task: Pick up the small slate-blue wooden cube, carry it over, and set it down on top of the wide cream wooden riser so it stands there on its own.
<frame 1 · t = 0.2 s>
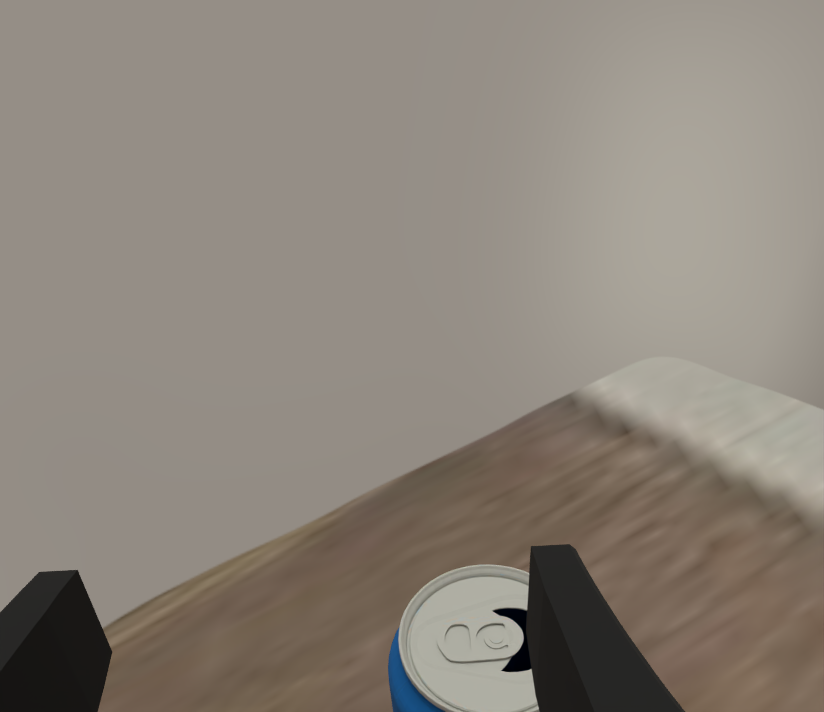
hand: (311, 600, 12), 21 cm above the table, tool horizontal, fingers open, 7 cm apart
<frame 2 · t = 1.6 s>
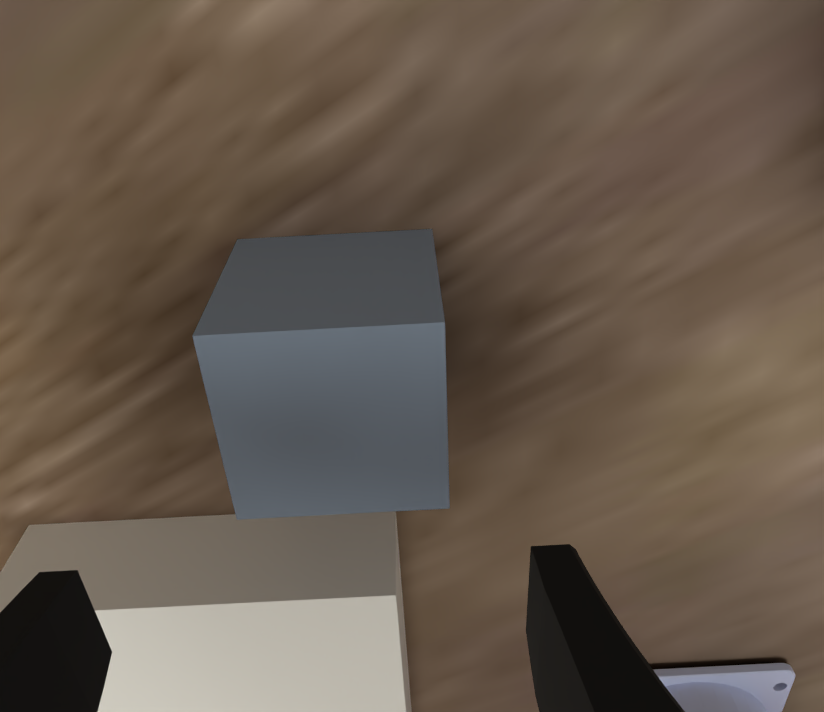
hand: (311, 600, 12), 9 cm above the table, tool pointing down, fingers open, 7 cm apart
blue cube: (344, 318, 20), on the table
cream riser: (245, 624, 27), on the table
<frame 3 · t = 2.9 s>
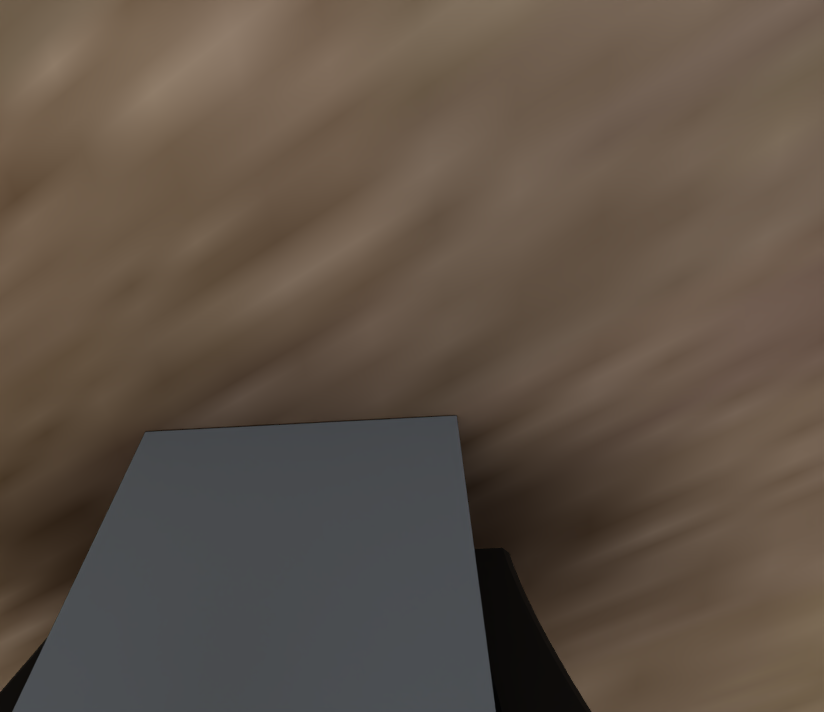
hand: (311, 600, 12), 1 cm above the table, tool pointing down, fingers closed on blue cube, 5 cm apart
blue cube: (318, 535, 13), on the table, touching gripper
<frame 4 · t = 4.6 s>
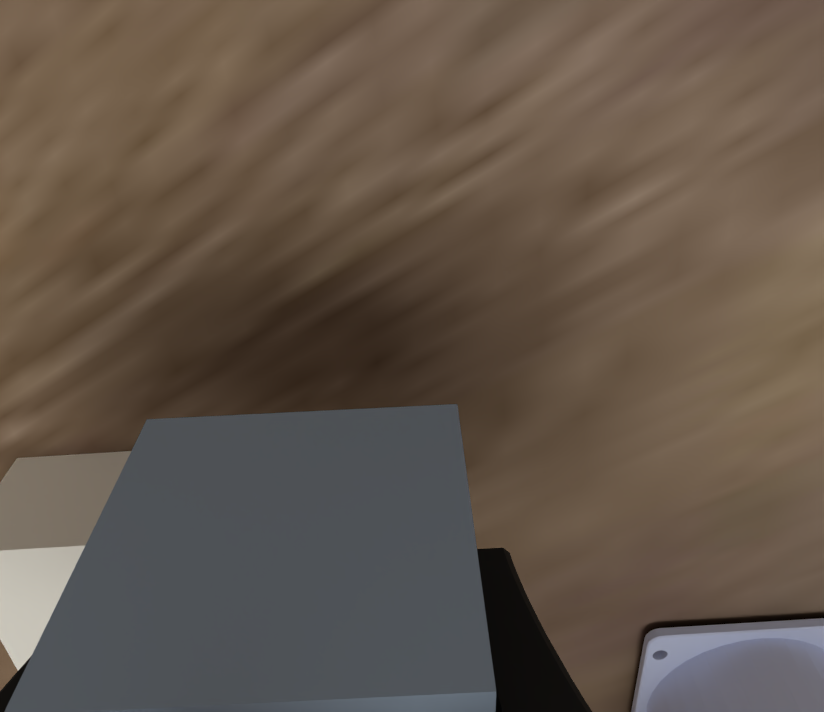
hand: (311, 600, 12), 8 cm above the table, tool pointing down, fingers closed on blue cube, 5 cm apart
blue cube: (319, 524, 13), point 7 cm above the table, touching gripper
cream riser: (262, 577, 24), on the table
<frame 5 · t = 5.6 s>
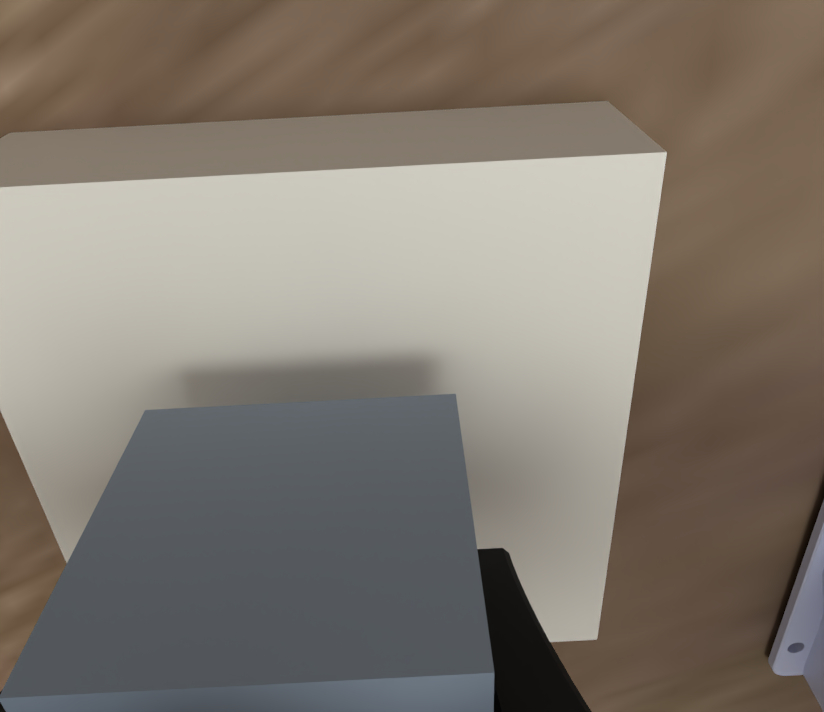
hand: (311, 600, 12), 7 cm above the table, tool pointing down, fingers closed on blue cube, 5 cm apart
blue cube: (318, 516, 13), point 5 cm above the table, touching gripper
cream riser: (339, 359, 18), on the table
when the fingers open (7 cm above the table, at t = 6.4 s): blue cube drops 2 cm, resting on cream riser.
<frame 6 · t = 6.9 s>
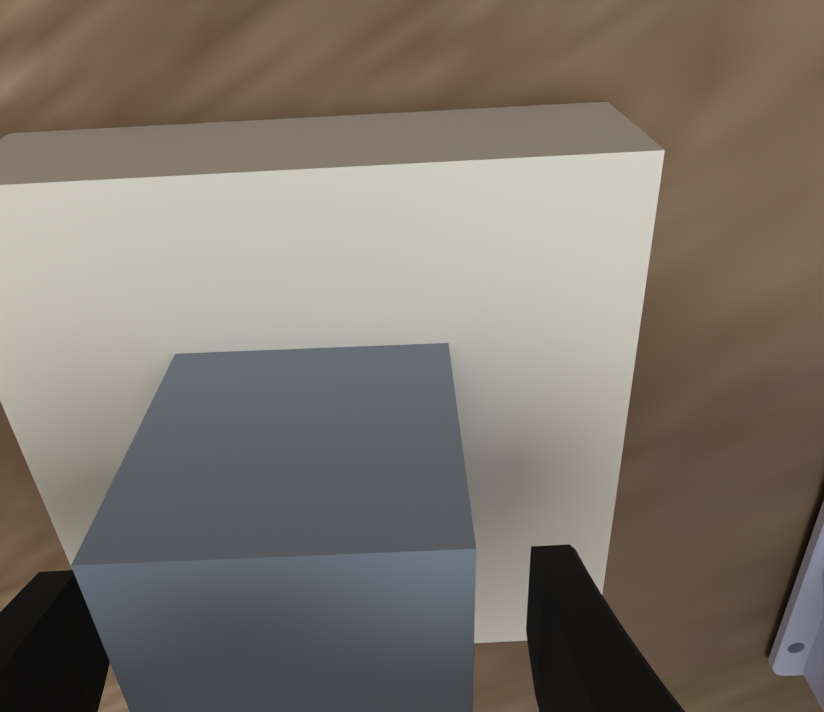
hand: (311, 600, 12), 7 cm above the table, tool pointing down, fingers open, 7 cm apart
blue cube: (324, 454, 14), point 3 cm above the table, touching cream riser
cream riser: (339, 358, 18), on the table, touching blue cube
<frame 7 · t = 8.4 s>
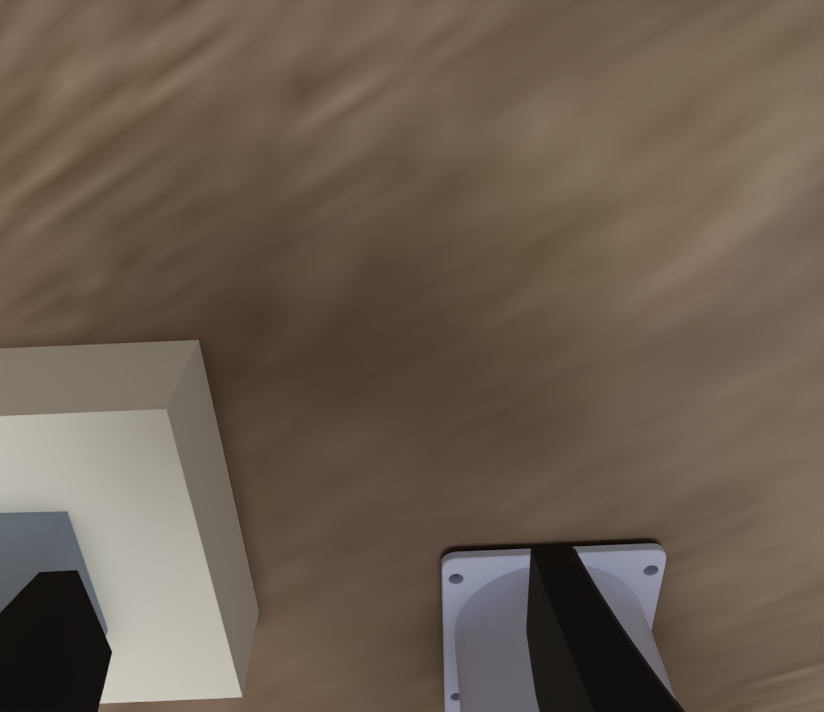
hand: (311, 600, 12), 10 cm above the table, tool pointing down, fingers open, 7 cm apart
blue cube: (3, 576, 21), point 3 cm above the table, touching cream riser
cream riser: (61, 491, 24), on the table, touching blue cube
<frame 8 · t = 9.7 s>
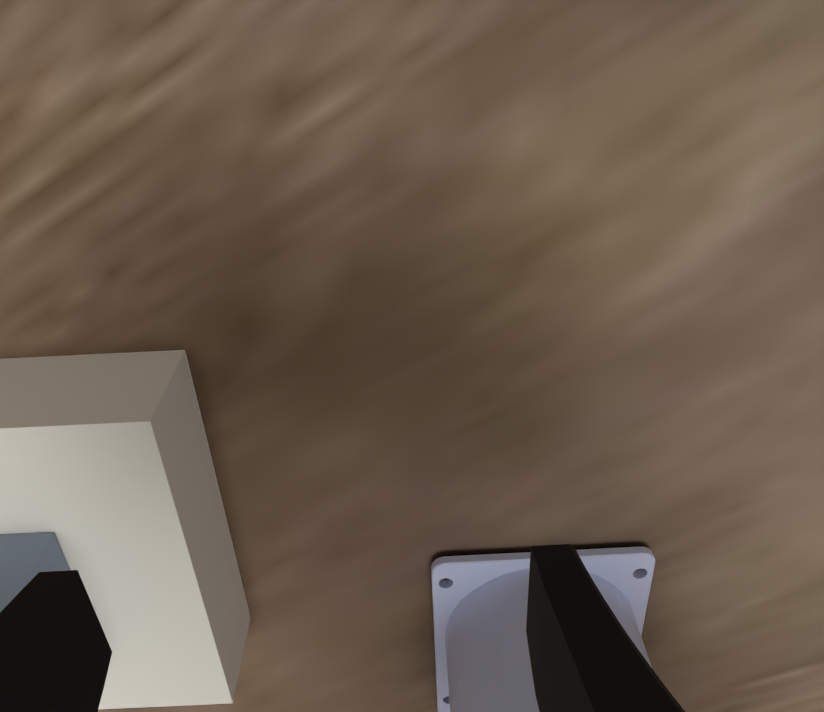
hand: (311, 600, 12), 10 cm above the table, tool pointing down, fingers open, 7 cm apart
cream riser: (52, 499, 25), on the table, touching blue cube
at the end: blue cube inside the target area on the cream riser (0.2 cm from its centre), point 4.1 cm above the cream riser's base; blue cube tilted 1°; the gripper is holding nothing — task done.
